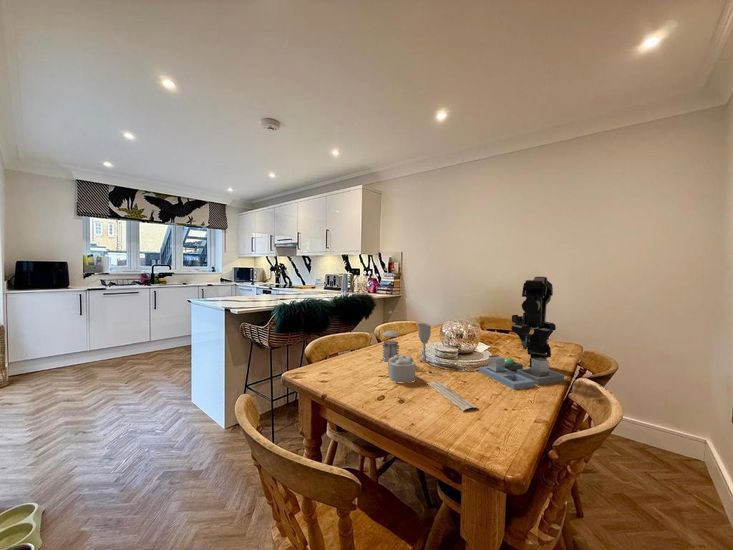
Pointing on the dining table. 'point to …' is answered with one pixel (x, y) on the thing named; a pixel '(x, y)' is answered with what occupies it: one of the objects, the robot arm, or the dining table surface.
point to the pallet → (508, 378)
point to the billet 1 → (496, 363)
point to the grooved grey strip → (451, 395)
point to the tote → (552, 377)
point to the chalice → (424, 336)
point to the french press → (390, 345)
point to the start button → (509, 361)
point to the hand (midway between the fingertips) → (533, 347)
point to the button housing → (514, 366)
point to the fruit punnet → (401, 369)
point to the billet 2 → (539, 367)
